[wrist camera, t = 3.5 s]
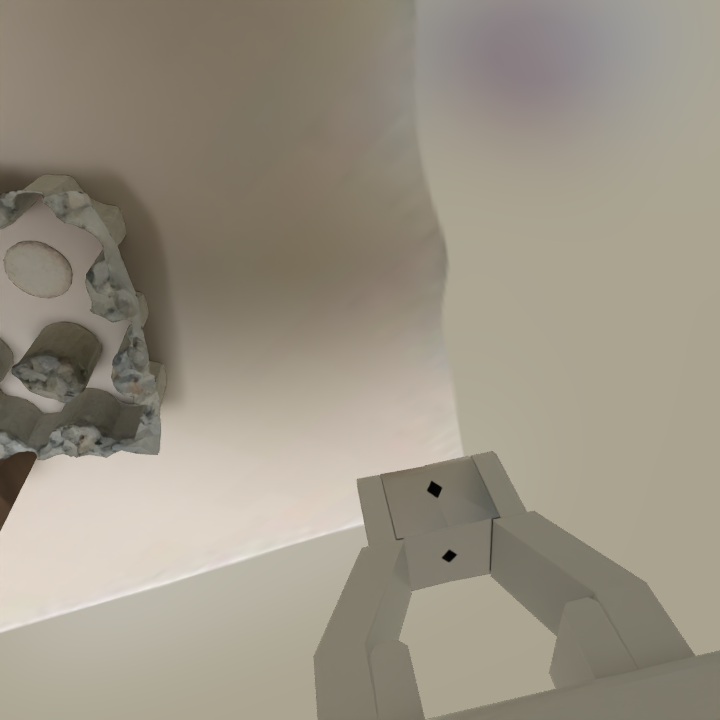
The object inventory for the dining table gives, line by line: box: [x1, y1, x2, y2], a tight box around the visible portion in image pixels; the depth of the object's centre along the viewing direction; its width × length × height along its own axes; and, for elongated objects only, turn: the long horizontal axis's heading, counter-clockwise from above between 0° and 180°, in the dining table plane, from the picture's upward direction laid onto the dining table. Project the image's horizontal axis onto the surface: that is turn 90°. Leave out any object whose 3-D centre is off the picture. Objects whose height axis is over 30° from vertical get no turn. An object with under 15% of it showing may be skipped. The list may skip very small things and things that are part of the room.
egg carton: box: [0, 174, 167, 460], centre depth 18 cm, size 11×8×4 cm
